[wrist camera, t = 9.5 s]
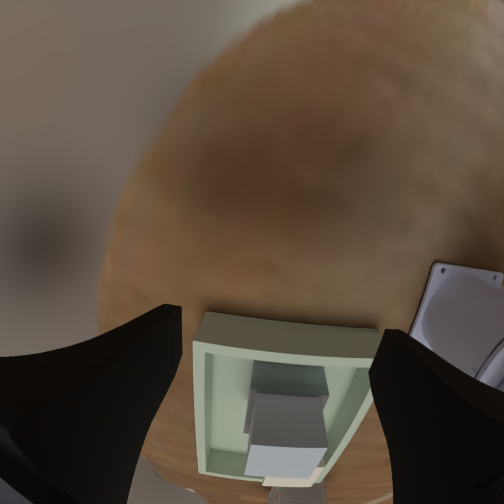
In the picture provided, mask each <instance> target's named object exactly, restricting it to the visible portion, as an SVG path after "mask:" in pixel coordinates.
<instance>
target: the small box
mask: <svg viewBox="0 0 504 504" xmlns="http://www.w3.org/2000/svg"><path fill="white" fill-rule="evenodd" d="M268 504H327V502H326V491H325V480H324V479H323V480H322V481H321V482H320V483H313V485H312V486H311V487H276V486H273V487H272V488H271V490H270V491H269V493H268Z"/></svg>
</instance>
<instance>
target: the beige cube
mask: <svg viewBox="0 0 504 504" xmlns="http://www.w3.org/2000/svg"><path fill="white" fill-rule="evenodd" d="M324 468H325V464H324V455H323V457H322V459H321V460H320V462H319V464H318V465H317V467H316V468H315V470H314V472H313V473H312V475H311V476H310V478H274V477H263V483H262V486H276V487H311V486H312V485H313V483H314V482H315V480H316V479H317V478H318V476H319V475H320V473H321V472H322V471H323V469H324Z"/></svg>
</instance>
